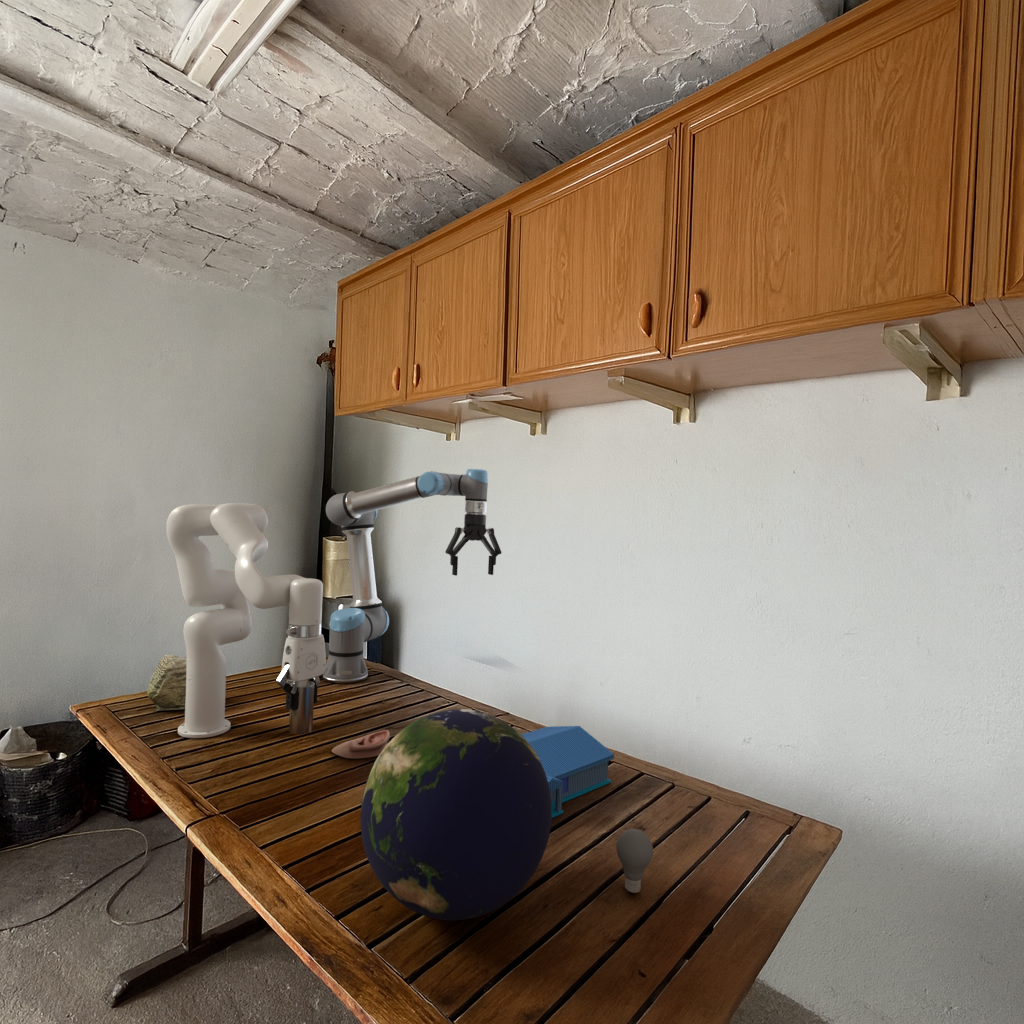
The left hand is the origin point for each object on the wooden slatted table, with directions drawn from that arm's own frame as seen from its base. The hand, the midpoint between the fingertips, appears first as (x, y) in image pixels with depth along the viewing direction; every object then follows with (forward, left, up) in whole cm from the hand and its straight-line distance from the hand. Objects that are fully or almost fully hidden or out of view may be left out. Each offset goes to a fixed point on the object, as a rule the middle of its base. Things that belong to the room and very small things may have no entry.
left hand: (301, 704), depth 152 cm
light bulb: (+79, +33, -13) cm, 86 cm away
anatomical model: (+2, +15, -13) cm, 20 cm away
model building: (+40, +38, -13) cm, 56 cm away
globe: (+66, +6, -13) cm, 68 cm away
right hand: (-36, +68, +25) cm, 81 cm away
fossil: (-52, -19, -13) cm, 57 cm away
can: (0, 0, -6) cm, 6 cm away
